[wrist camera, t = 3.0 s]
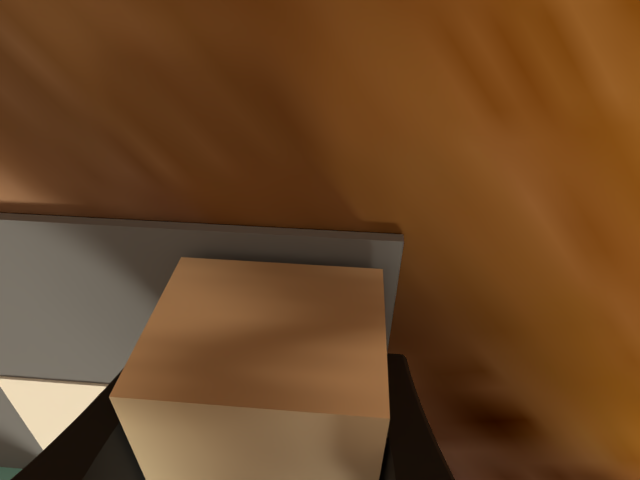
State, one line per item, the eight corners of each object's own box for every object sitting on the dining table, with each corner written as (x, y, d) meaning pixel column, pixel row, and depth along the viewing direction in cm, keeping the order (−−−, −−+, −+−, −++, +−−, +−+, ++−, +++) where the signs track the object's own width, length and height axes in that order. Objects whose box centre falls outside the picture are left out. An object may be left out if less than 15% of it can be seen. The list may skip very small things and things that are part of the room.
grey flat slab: (403, 234, 11) (404, 244, 11) (358, 534, 22) (358, 544, 22) (-269, 198, 12) (-286, 206, 12) (2, 502, 23) (-3, 510, 23)
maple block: (382, 268, 11) (390, 419, 8) (368, 393, 14) (368, 538, 11) (181, 257, 11) (109, 397, 8) (208, 381, 14) (163, 519, 11)
